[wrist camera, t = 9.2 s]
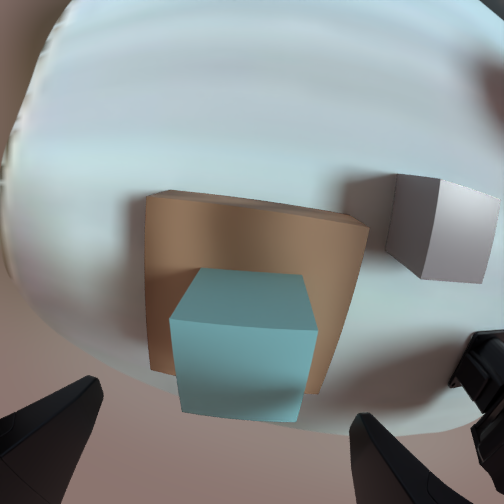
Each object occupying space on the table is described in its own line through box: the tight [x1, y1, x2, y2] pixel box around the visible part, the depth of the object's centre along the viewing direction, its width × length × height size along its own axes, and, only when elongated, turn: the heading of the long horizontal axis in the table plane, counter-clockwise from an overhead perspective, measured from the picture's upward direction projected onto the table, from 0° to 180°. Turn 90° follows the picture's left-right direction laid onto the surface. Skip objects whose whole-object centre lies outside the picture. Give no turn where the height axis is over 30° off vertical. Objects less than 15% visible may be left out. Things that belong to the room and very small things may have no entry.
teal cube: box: [169, 268, 318, 422], centre depth 12 cm, size 5×5×5 cm
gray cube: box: [385, 174, 501, 284], centre depth 13 cm, size 5×5×5 cm
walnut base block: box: [144, 190, 370, 394], centre depth 16 cm, size 11×11×4 cm
